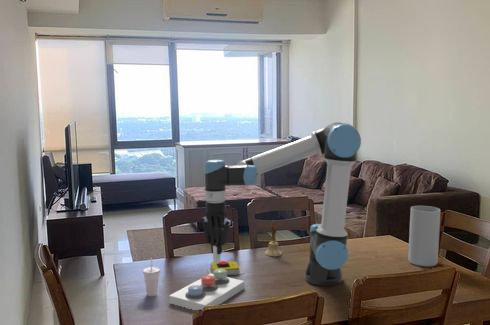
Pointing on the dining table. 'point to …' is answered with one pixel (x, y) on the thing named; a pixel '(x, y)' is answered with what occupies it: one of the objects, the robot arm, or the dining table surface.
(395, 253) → the dining table surface
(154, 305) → the dining table surface
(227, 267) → the emergency button
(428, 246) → the cylinder vase
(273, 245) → the hand bell
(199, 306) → the button panel
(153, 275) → the smoothie
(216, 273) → the sage-green button
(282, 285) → the dining table surface
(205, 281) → the red button
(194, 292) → the slate-blue button
